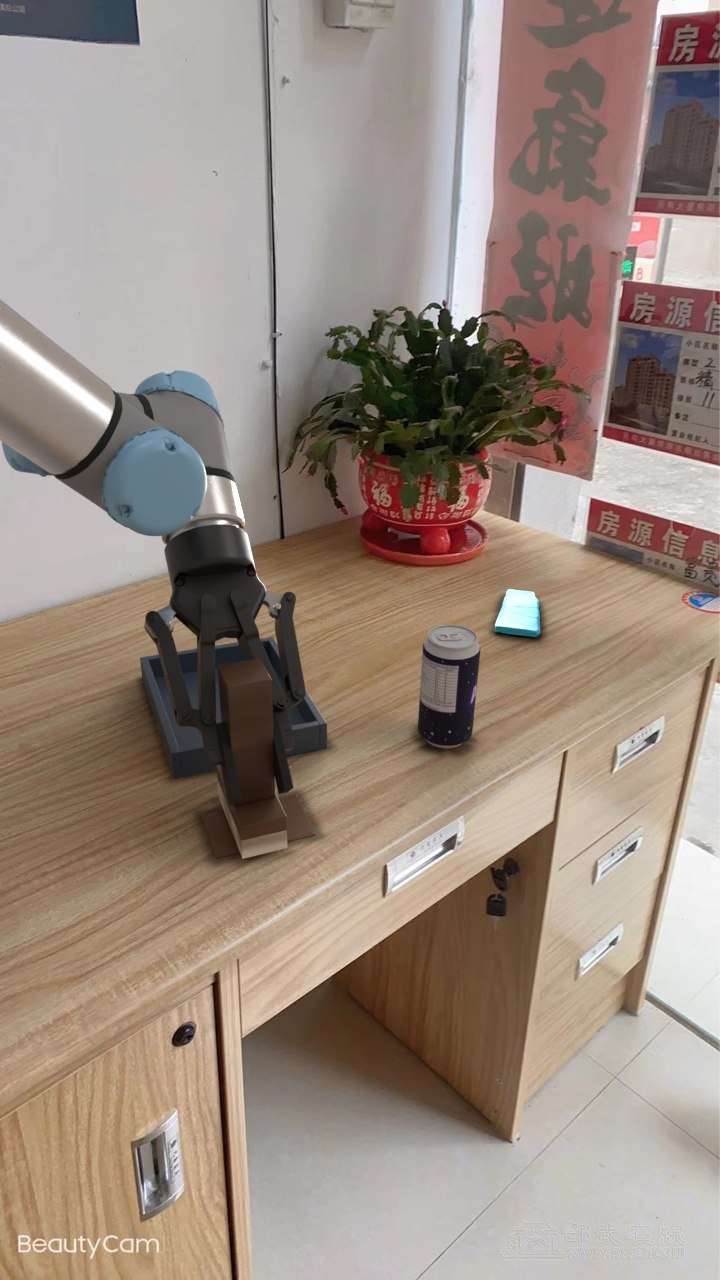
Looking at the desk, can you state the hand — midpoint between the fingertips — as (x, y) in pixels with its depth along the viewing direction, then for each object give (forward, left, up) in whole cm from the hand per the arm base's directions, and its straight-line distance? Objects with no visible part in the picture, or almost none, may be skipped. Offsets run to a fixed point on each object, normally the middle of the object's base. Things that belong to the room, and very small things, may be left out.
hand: (260, 796), depth 73 cm
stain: (0, +4, -6) cm, 7 cm away
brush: (0, +4, -6) cm, 7 cm away
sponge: (+44, +33, -6) cm, 56 cm away
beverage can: (+22, +11, -6) cm, 26 cm away
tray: (+2, +23, -6) cm, 24 cm away
